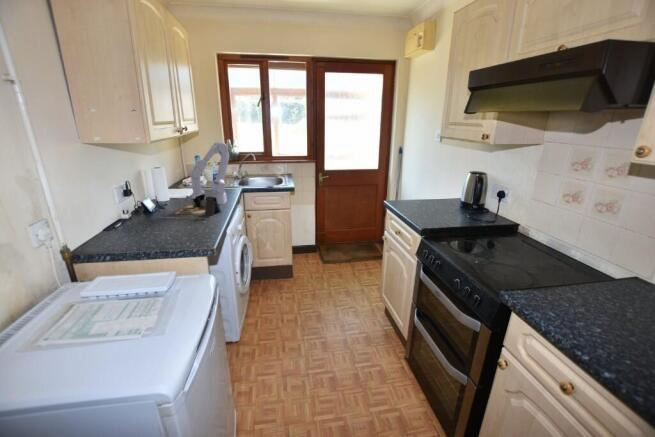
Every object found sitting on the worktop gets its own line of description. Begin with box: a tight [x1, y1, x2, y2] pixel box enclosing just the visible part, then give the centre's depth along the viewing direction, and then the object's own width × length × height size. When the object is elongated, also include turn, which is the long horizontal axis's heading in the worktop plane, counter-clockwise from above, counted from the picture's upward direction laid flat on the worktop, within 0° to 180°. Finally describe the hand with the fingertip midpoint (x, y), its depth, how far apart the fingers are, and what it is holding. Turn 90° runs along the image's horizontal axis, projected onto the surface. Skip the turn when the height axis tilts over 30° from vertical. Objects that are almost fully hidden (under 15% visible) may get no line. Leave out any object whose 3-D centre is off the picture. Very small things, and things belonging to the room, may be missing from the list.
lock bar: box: [191, 198, 206, 208], centre depth 205 cm, size 8×4×5 cm, turn 86°
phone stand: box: [204, 196, 222, 217], centre depth 191 cm, size 9×6×12 cm, turn 158°
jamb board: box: [174, 205, 206, 215], centre depth 201 cm, size 18×18×2 cm
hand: (199, 206), depth 205 cm, fingers closed on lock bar, 4 cm apart
